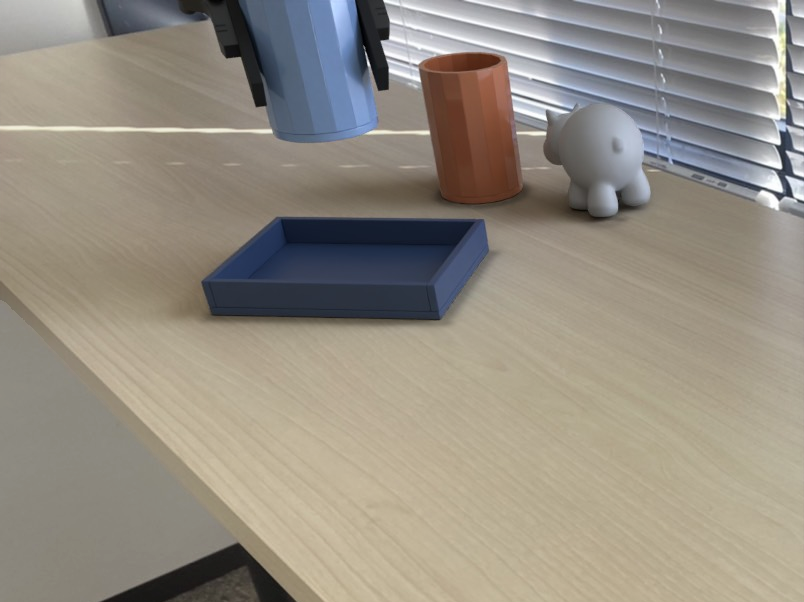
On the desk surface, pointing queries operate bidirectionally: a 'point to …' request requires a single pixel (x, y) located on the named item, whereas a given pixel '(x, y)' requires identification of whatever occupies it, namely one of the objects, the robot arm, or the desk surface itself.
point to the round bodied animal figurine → (598, 157)
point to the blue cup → (312, 68)
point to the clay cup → (472, 126)
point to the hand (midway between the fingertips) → (322, 86)
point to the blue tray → (349, 268)
